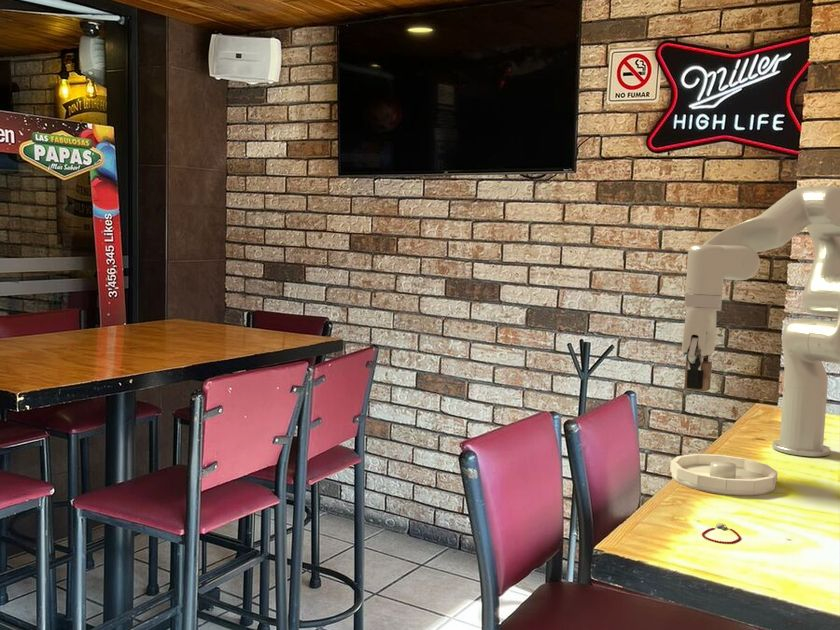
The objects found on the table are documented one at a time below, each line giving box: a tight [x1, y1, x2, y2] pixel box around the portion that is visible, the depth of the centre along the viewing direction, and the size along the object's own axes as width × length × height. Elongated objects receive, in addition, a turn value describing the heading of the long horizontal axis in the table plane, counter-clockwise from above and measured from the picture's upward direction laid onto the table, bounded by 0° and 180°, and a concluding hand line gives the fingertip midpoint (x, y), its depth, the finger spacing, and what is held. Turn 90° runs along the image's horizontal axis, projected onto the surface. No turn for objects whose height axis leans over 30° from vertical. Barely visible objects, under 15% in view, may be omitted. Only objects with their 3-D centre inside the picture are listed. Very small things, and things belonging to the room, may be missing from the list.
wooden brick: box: [683, 360, 713, 393], centre depth 181 cm, size 4×4×6 cm
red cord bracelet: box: [701, 522, 742, 545], centre depth 140 cm, size 9×6×1 cm
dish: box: [669, 453, 779, 497], centre depth 172 cm, size 20×20×4 cm
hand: (697, 386), depth 181 cm, fingers closed on wooden brick, 4 cm apart
